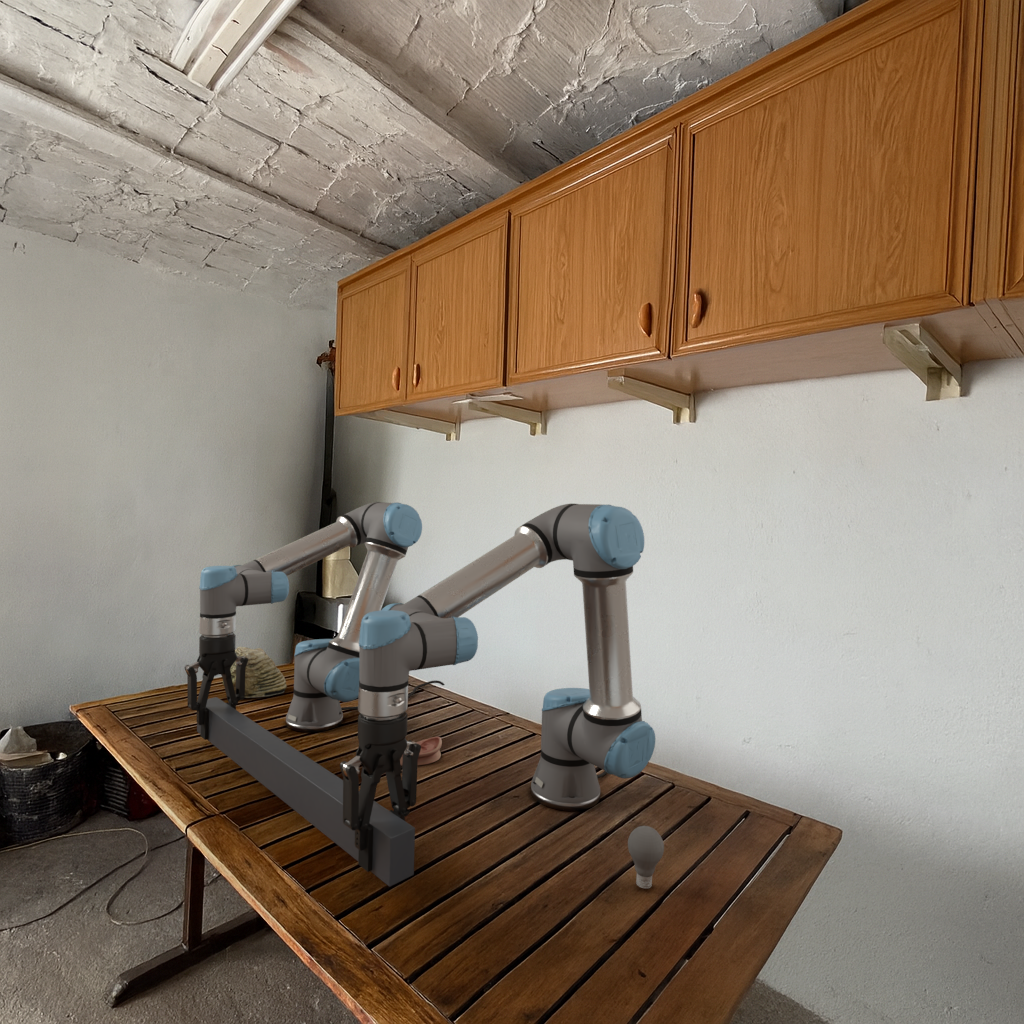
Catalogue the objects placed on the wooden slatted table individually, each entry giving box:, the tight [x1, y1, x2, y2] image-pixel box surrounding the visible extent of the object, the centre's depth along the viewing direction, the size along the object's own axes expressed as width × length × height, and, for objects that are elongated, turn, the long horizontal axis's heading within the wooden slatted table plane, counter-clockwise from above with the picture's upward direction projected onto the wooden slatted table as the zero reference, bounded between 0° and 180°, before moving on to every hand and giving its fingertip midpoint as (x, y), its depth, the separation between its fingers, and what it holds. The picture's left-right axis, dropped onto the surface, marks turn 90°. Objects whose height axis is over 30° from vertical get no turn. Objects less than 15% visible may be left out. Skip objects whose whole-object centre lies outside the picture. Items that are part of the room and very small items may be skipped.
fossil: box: [222, 646, 288, 699], centre depth 198 cm, size 9×18×15 cm, turn 132°
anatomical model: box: [400, 736, 443, 767], centre depth 156 cm, size 13×4×12 cm
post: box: [196, 696, 416, 888], centre depth 122 cm, size 79×4×7 cm, turn 45°
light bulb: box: [627, 825, 665, 890], centre depth 107 cm, size 6×6×10 cm
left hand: (216, 734), depth 145 cm, fingers closed on post, 4 cm apart
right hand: (379, 860), depth 99 cm, fingers closed on post, 4 cm apart
